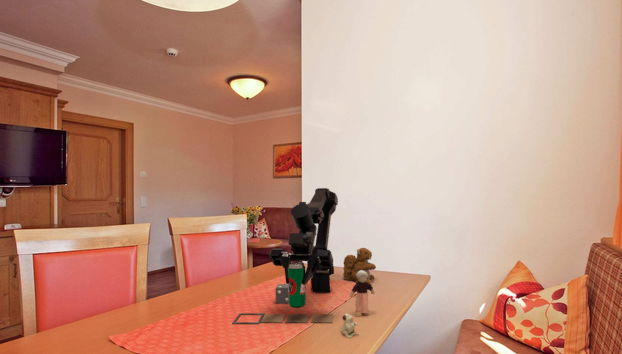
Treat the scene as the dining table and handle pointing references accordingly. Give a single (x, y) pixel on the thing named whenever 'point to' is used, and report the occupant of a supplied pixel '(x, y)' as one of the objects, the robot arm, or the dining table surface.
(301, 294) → the soda can
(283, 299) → the die
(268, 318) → the game track
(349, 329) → the toy dog
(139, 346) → the dining table surface
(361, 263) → the stuffed squirrel
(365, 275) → the grandmother figurine
